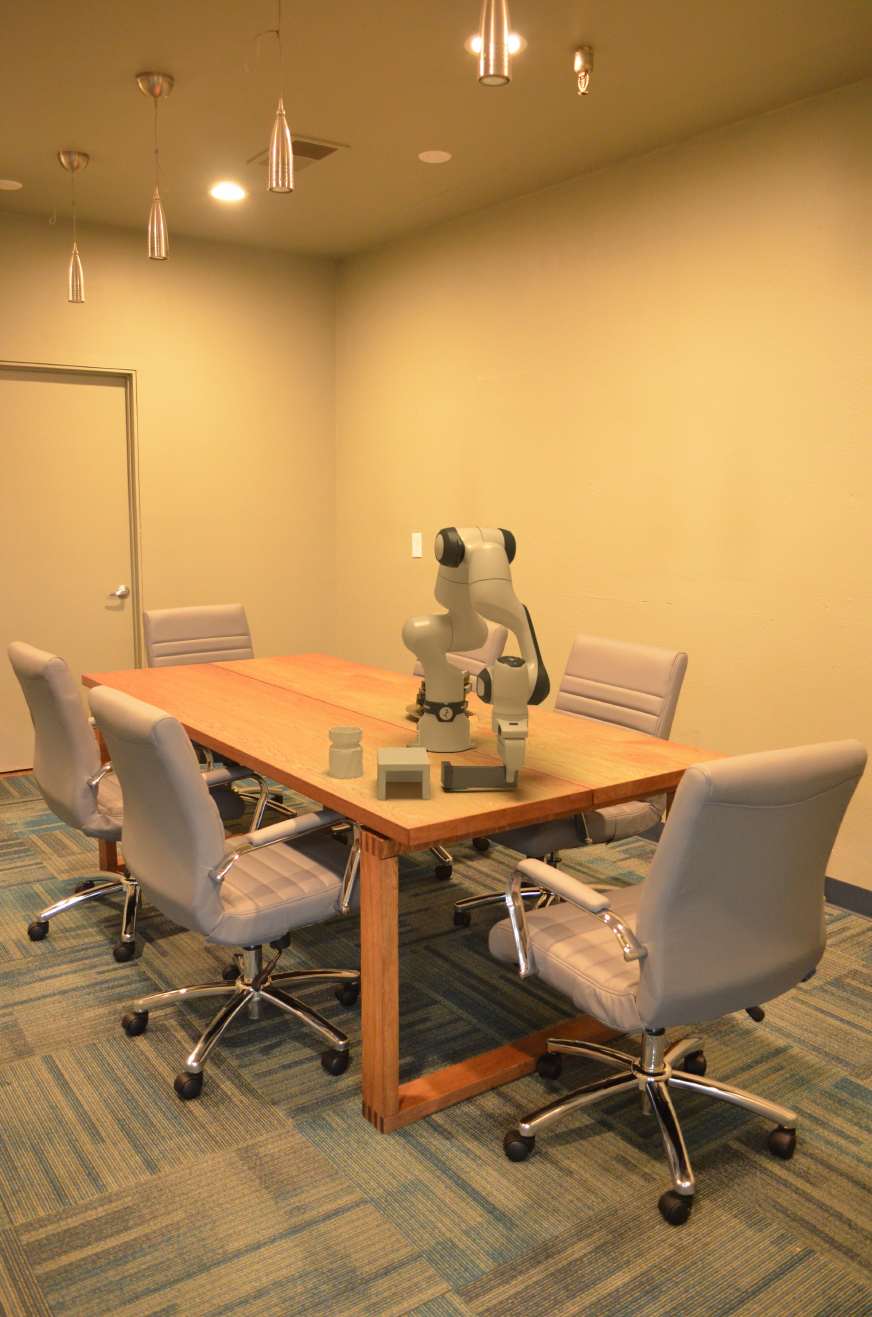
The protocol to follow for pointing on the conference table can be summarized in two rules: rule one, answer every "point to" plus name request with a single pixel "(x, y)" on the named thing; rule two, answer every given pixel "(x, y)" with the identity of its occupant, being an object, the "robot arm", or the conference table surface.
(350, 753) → the pale lidded jar
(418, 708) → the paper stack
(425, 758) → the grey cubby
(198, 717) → the conference table surface
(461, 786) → the dark grey long block
